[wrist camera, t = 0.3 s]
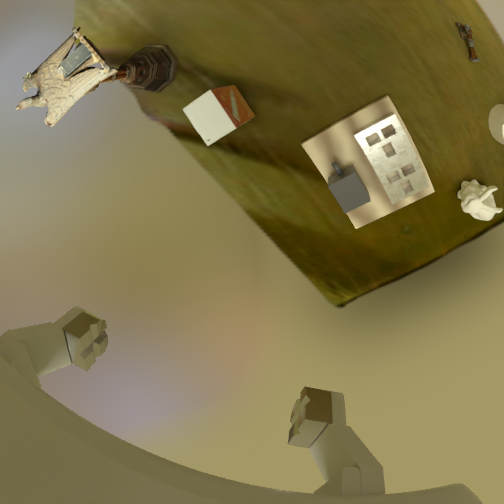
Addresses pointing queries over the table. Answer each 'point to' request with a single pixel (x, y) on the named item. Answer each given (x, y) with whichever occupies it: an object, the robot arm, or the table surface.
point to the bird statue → (93, 74)
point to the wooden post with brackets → (469, 39)
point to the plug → (348, 188)
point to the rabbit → (478, 200)
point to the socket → (392, 158)
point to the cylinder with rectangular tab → (497, 123)
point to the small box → (218, 113)
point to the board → (362, 159)
